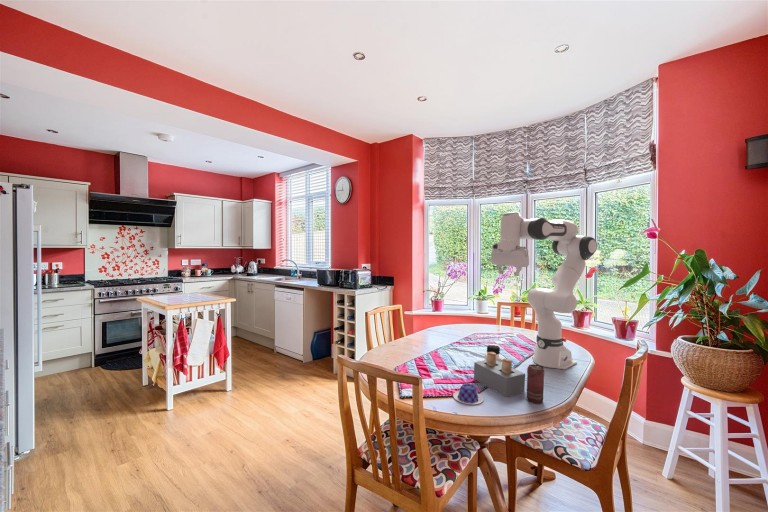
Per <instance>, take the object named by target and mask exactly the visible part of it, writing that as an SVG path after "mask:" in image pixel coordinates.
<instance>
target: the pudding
mask: <svg viewBox="0 0 768 512" xmlns="http://www.w3.org/2000/svg"><path fill="white" fill-rule="evenodd" d="M477 391H478V390H477V387H476V386H475V385H473V384H471V383H463V384H462V385H461V386H460V389H459V390H457V391H455V392H454V393H453V394H452V397H453V398H454V400H456V401H457V402H459V403H463V404H465V405H466V404H467V405H478V404H481V403H483V402H484V396H482V395H481V394H480V393H478V392H477Z"/></svg>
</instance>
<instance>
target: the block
mask: <svg viewBox="0 0 768 512" xmlns="http://www.w3.org/2000/svg"><path fill="white" fill-rule="evenodd" d="M473 365H474V366H473V367H474V368H473V380H474V379H475V380H474V381H476V380H477V381H476V382H478V381H479V382H478V383H480V384H481V383H482V384H481V385H483V384H484V385H483V386H485V385H486V386H485V387H486V388H489V389H491V390H492V391H494V392H496V393H497V394H499V395H501V396H503V397H504V398H508V397H512V396H515V395H518V394H521V393H525V388H526V386H525V385H526V373H525V372H522V371H520V370H518V369H516V368H514V367H512V373H511V374H504V373H502V361H501V362H499V361H496V366H494V367H490V366H488V365H487V360H485V359H484V360H479V361H475V362H474V364H473Z"/></svg>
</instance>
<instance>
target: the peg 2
mask: <svg viewBox="0 0 768 512" xmlns="http://www.w3.org/2000/svg"><path fill="white" fill-rule="evenodd" d="M501 359H502V361H501V363H502V373H504V374H511V373H512V368H513V366H512V365H513V361H512V359H510V358H501Z"/></svg>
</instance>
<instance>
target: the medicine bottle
mask: <svg viewBox="0 0 768 512" xmlns="http://www.w3.org/2000/svg"><path fill="white" fill-rule="evenodd" d="M487 352H494V353H496V361H499V362H501V363H502V359H503V358H502V356H501V349H500V346H499V345H496V344H487V346H486V352H484V360H487Z"/></svg>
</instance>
